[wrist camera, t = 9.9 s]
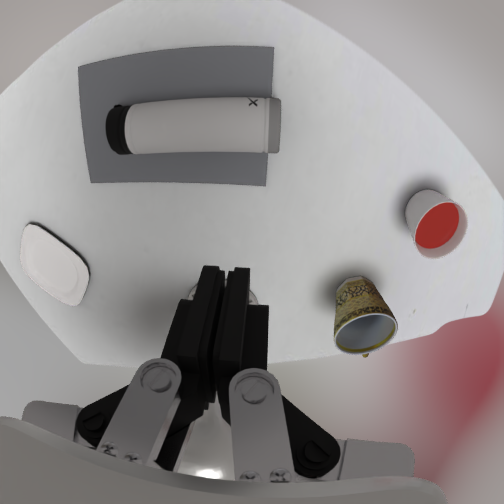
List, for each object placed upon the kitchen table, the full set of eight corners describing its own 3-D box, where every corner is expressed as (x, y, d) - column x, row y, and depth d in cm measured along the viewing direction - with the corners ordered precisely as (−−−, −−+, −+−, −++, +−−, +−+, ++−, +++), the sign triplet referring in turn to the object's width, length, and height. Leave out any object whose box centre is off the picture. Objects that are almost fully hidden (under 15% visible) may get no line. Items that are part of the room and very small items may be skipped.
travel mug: (281, 86, 26) (105, 98, 27) (280, 146, 27) (97, 151, 28) (279, 107, 32) (127, 113, 33) (277, 158, 33) (122, 159, 34)
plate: (79, 308, 57) (76, 313, 56) (22, 266, 51) (18, 270, 50) (98, 261, 48) (94, 267, 47) (29, 210, 42) (24, 215, 41)
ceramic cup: (322, 274, 46) (330, 322, 38) (381, 262, 44) (400, 306, 35) (331, 325, 53) (337, 369, 45) (381, 314, 51) (394, 356, 42)
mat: (265, 184, 38) (265, 186, 37) (92, 181, 38) (90, 183, 38) (274, 47, 27) (274, 47, 27) (80, 66, 28) (78, 66, 27)
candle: (420, 244, 41) (436, 268, 36) (386, 214, 39) (401, 238, 34) (456, 205, 36) (476, 226, 31) (425, 170, 34) (447, 188, 29)
